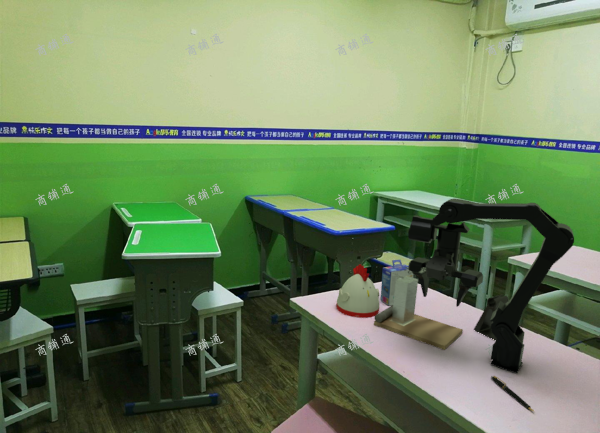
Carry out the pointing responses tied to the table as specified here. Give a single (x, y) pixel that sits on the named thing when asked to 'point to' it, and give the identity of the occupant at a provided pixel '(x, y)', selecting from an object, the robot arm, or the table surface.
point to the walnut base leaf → (420, 329)
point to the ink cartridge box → (392, 280)
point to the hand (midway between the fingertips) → (440, 301)
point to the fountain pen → (510, 392)
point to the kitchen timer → (358, 295)
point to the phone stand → (489, 316)
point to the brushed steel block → (404, 299)
